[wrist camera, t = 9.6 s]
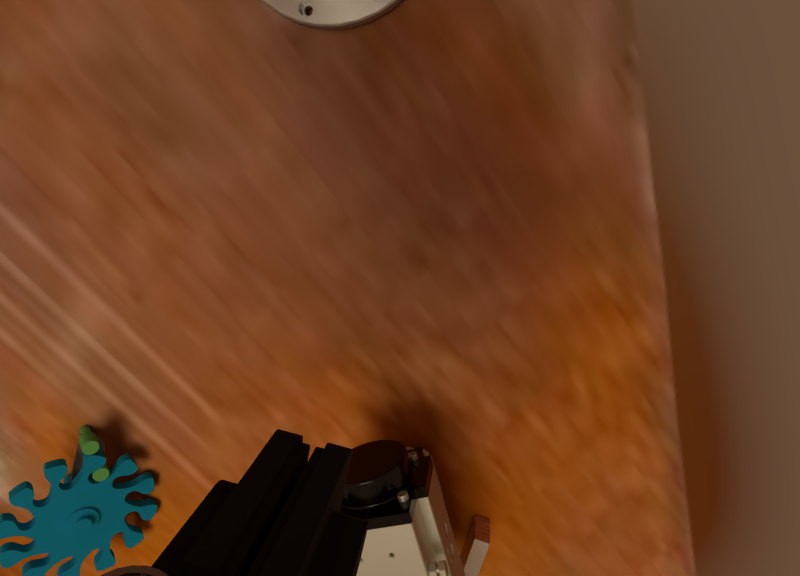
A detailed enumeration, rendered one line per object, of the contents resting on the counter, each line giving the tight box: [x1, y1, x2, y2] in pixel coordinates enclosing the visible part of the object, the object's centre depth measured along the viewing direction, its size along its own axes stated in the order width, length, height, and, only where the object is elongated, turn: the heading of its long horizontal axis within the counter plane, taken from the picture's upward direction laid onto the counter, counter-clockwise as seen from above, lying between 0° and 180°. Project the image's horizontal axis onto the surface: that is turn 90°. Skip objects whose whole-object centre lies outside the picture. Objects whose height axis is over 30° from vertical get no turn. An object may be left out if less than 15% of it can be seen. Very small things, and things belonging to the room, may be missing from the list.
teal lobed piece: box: [0, 426, 158, 576], centre depth 40 cm, size 11×6×10 cm
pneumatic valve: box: [339, 440, 466, 576], centre depth 33 cm, size 6×12×12 cm, turn 16°
